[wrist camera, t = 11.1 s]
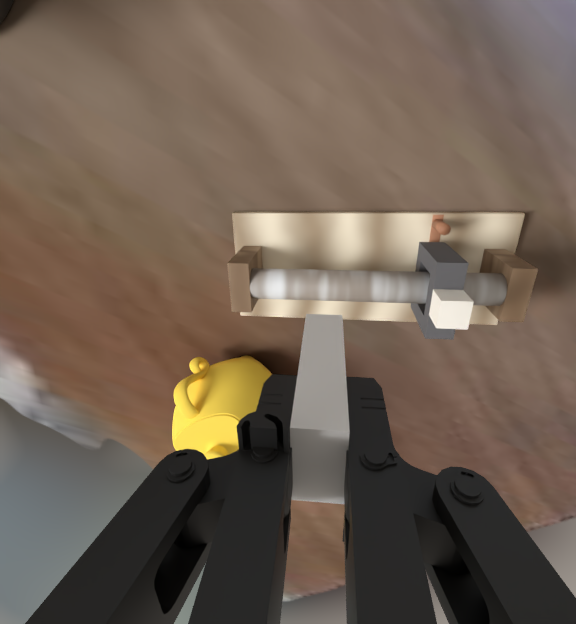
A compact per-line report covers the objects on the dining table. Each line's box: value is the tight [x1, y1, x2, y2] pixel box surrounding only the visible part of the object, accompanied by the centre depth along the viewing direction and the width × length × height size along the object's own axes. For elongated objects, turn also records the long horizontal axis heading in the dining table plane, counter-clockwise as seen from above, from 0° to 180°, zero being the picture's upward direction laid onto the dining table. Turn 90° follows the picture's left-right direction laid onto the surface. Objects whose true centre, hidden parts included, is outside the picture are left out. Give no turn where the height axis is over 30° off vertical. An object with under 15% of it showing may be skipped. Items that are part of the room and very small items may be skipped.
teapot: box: [172, 355, 272, 459], centre depth 43 cm, size 14×20×13 cm
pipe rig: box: [227, 212, 538, 325], centre depth 36 cm, size 29×12×8 cm, turn 91°
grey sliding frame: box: [411, 242, 474, 340], centre depth 32 cm, size 2×7×10 cm, turn 1°
